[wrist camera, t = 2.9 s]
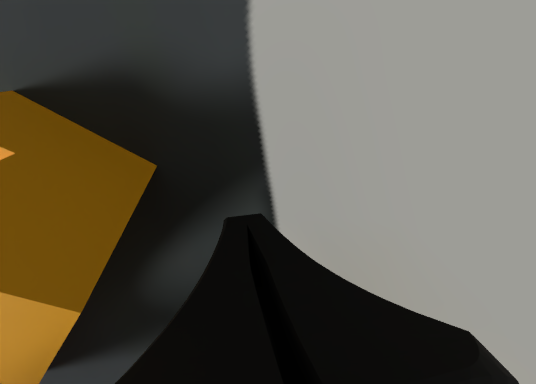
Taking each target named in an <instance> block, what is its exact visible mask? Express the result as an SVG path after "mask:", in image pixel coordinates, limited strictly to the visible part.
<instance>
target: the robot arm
mask: <svg viewBox="0 0 536 384" xmlns="http://www.w3.org/2000/svg"><path fill="white" fill-rule="evenodd" d="M115 384H519V383H518V381H517V380H516V379H515V378H514V377H513V376H512V375H511V374H510V373H509V371H508V370H507V369H506V368H505V367H504V366H503V365H502V364H501V363H500V362H499V361H498V360H497V359H496V358H495V357H494V356H493V355H492V354H491V353H490V352H489V351H488V350H487V349H486V348H485V347H484V346H483V345H482V344H481V343H480V342H479V341H478V340H477V339H476V338H475V337H474V336H473V335H472V334H471V333H470V332H469V331H466V330H463V329H460V328H458V327H455V326H452V325H449V324H446V323H444V322H441V321H438V320H435V319H433V318H430V317H427V316H424V315H421V314H418V313H416V312H413V311H411V310H408V309H406V308H403V307H401V306H399V305H397V304H394V303H392V302H390V301H387V300H385V299H383V298H381V297H379V296H376V295H374V294H372V293H370V292H368V291H366V290H364V289H362V288H360V287H358V286H356V285H354V284H352V283H350V282H348V281H347V280H345V279H343V278H341V277H340V276H338V275H336V274H335V273H333V272H331V271H330V270H328V269H326V268H325V267H323V266H322V265H320V264H318V263H317V262H315V261H314V260H313V259H311V258H310V257H309V256H307V255H306V254H305V253H303V252H302V251H301V250H300V249H298V248H297V247H296V246H295V245H293V244H292V243H291V242H290V241H289V240H288V239H287V238H285V237H284V236H283V235H282V234H281V233H280V232H279V231H278V230H277V229H276V228H275V227H274V226H273V225H272V224H271V223H270V222H269V221H268V220H267V219H266V218H265V217H264V216H263V215H262V214H261V213H260V214H252V215H244V216H236V217H228V218H226V219H225V220H224V225H223V229H222V232H221V235H220V238H219V241H218V243H217V246H216V248H215V251H214V253H213V255H212V257H211V259H210V261H209V263H208V265H207V267H206V269H205V271H204V273H203V274H202V276H201V278H200V279H199V281H198V283H197V284H196V286H195V288H194V289H193V291H192V292H191V294H190V295H189V297H188V298H187V300H186V301H185V302H184V304H183V305H182V307H181V308H180V309H179V311H178V312H177V313H176V315H175V316H174V317H173V319H172V320H171V321H170V323H169V324H168V325H167V326H166V328H165V329H164V330H163V331H162V332H161V334H160V335H159V336H158V337H157V338H156V339H155V341H154V342H153V343H152V344H151V345H150V346H149V347H148V349H147V350H146V351H145V352H144V353H143V354H142V355H141V357H140V358H139V359H138V360H137V361H136V362H135V363H134V364H133V366H132V367H131V368H130V369H129V370H128V371H127V372H126V373H125V374H124V375H123V376H122V377H121V378H120V379H119V380H118V381H117V382H116V383H115Z"/></svg>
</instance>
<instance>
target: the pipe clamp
mask: <svg viewBox="0 0 536 384" xmlns="http://www.w3.org/2000/svg"><path fill="white" fill-rule="evenodd" d="M156 167H157V165H155V164H153V163H151V162H149V161H147V160H145V159H143V158H141V157H139V156H137V155H135V154H134V153H132V152H130V151H128V150H126V149H124V148H122V147H120V146H118V145H116V144H114V143H112V142H110V141H108V140H107V139H105V138H103V137H101V136H99V135H97V134H95V133H93V132H91V131H89V130H87V129H85V128H83V127H81V126H80V125H78V124H76V123H74V122H72V121H70V120H68V119H66V118H64V117H62V116H60V115H58V114H56V113H55V112H53V111H51V110H49V109H47V108H45V107H43V106H41V105H39V104H37V103H35V102H33V101H31V100H29V99H28V98H26V97H24V96H22V95H20V94H18V93H16V92H14V91H6V92H0V384H39V382H40V381H41V379H42V377H43V376H44V374H45V372H46V371H47V369H48V367H49V366H50V364H51V362H52V361H53V359H54V357H55V356H56V354H57V352H58V351H59V349H60V347H61V346H62V344H63V342H64V341H65V339H66V337H67V336H68V334H69V332H70V331H71V329H72V327H73V326H74V324H75V322H76V321H77V319H78V317H79V316H80V314H81V312H82V310H83V308H84V306H85V304H86V302H87V300H88V298H89V297H90V295H91V293H92V291H93V289H94V287H95V285H96V283H97V281H98V279H99V277H100V275H101V273H102V271H103V269H104V268H105V266H106V264H107V262H108V260H109V258H110V256H111V254H112V252H113V250H114V248H115V246H116V244H117V242H118V240H119V239H120V237H121V235H122V233H123V231H124V229H125V227H126V225H127V223H128V221H129V219H130V217H131V215H132V213H133V211H134V210H135V208H136V206H137V204H138V202H139V200H140V198H141V196H142V194H143V192H144V190H145V188H146V186H147V184H148V183H149V181H150V179H151V177H152V175H153V173H154V171H155V169H156Z"/></svg>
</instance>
